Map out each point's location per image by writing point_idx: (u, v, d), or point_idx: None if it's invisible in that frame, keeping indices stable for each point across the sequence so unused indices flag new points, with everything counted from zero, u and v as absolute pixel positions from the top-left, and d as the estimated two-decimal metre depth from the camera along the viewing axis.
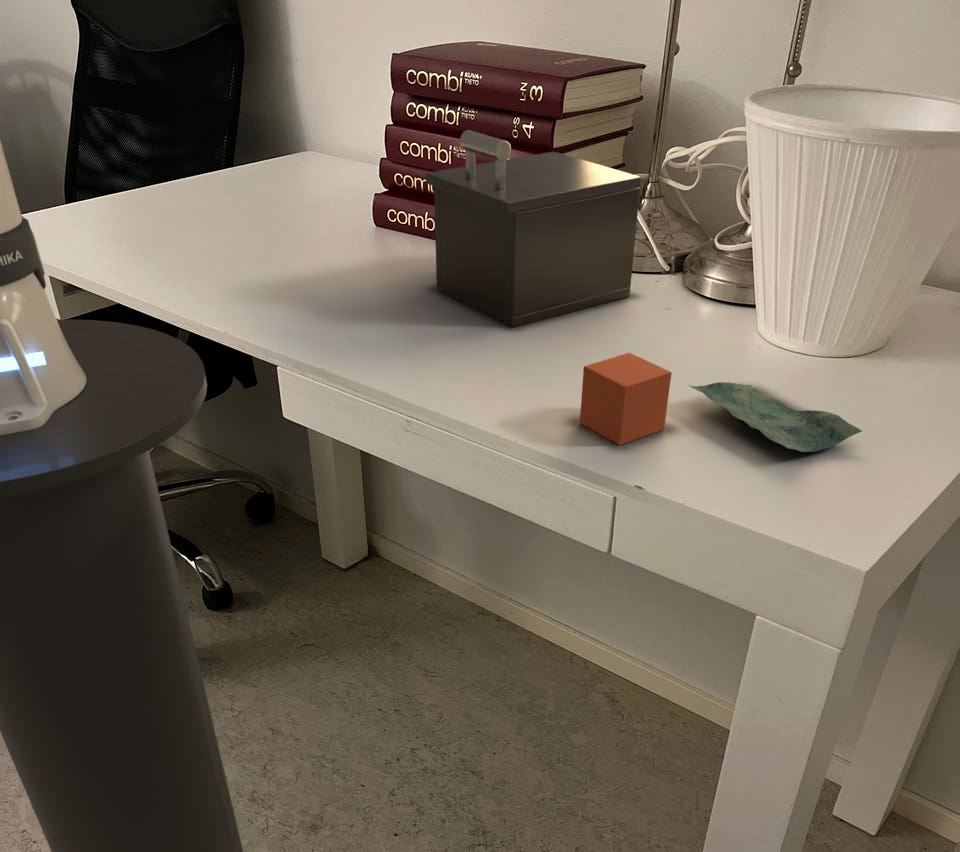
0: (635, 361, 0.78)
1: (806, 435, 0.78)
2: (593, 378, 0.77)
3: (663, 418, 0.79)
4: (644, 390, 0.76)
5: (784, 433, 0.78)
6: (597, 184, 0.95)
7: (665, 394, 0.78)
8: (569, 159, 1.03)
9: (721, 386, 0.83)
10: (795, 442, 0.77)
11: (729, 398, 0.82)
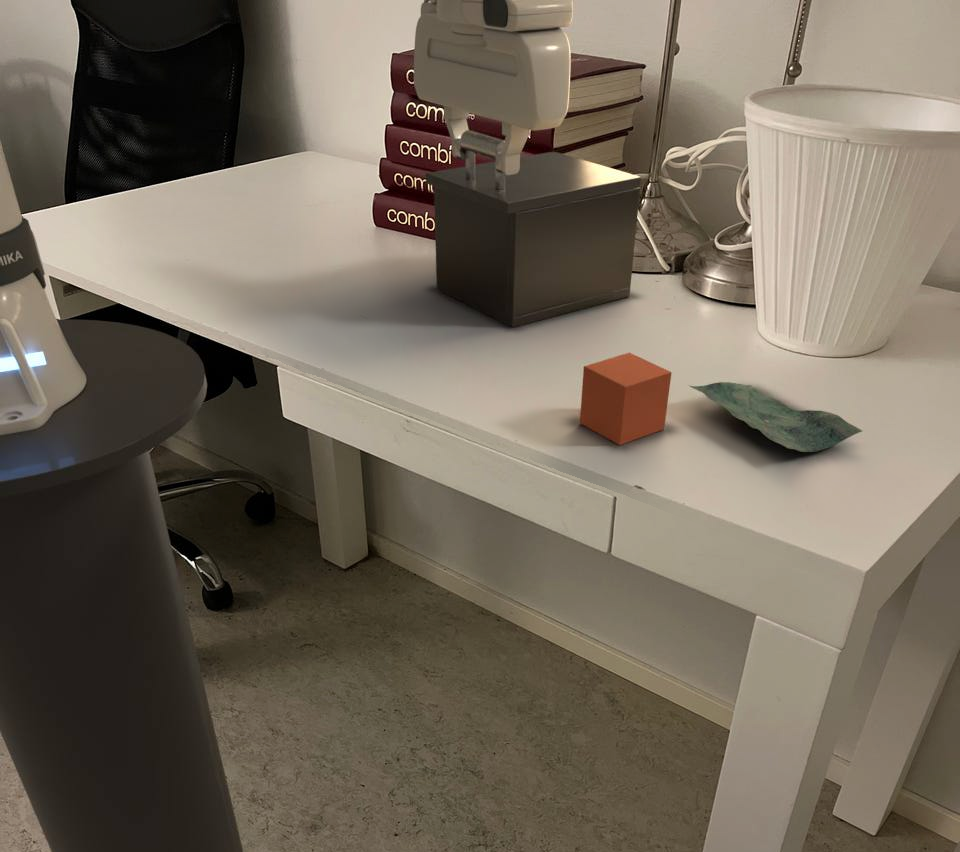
0: (635, 361, 0.78)
1: (806, 435, 0.78)
2: (593, 378, 0.77)
3: (663, 418, 0.79)
4: (644, 390, 0.76)
5: (784, 433, 0.78)
6: (597, 184, 0.95)
7: (665, 394, 0.78)
8: (569, 159, 1.03)
9: (721, 386, 0.83)
10: (795, 442, 0.77)
11: (729, 398, 0.82)
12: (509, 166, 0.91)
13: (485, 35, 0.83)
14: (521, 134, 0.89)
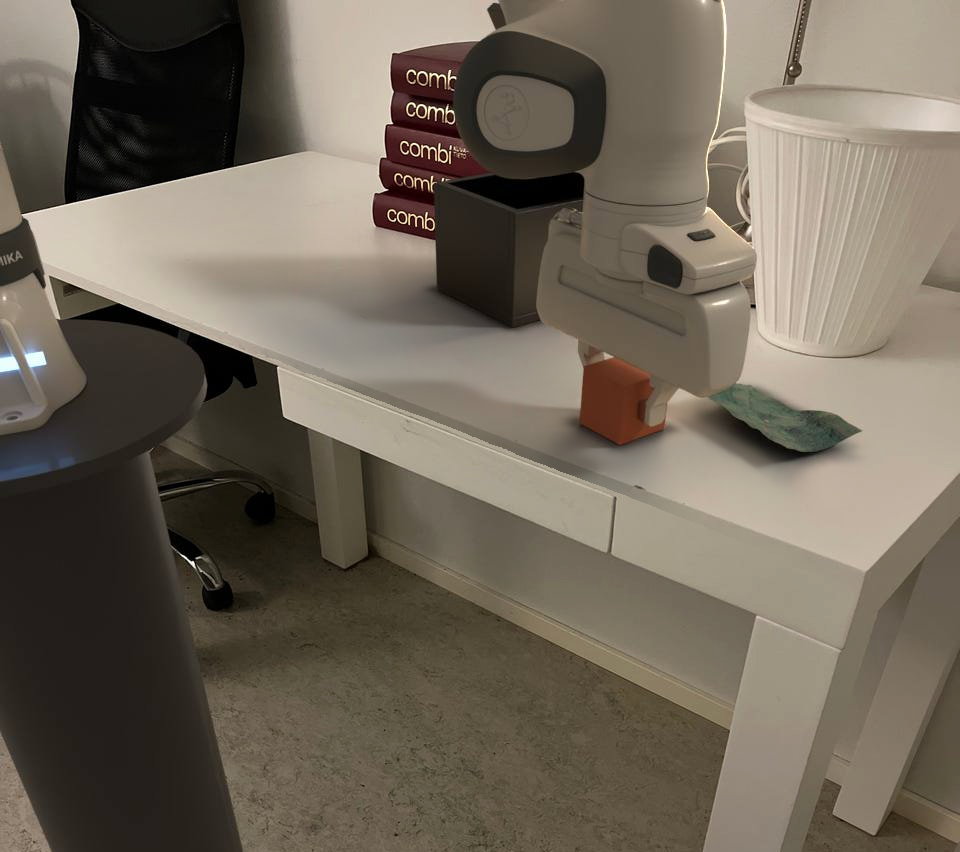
0: None
1: (806, 435, 0.78)
2: (593, 378, 0.77)
3: None
4: (644, 390, 0.76)
5: (784, 433, 0.78)
6: None
7: None
8: None
9: None
10: (795, 442, 0.77)
11: (729, 398, 0.82)
12: (654, 417, 0.76)
13: (646, 287, 0.68)
14: (673, 386, 0.74)
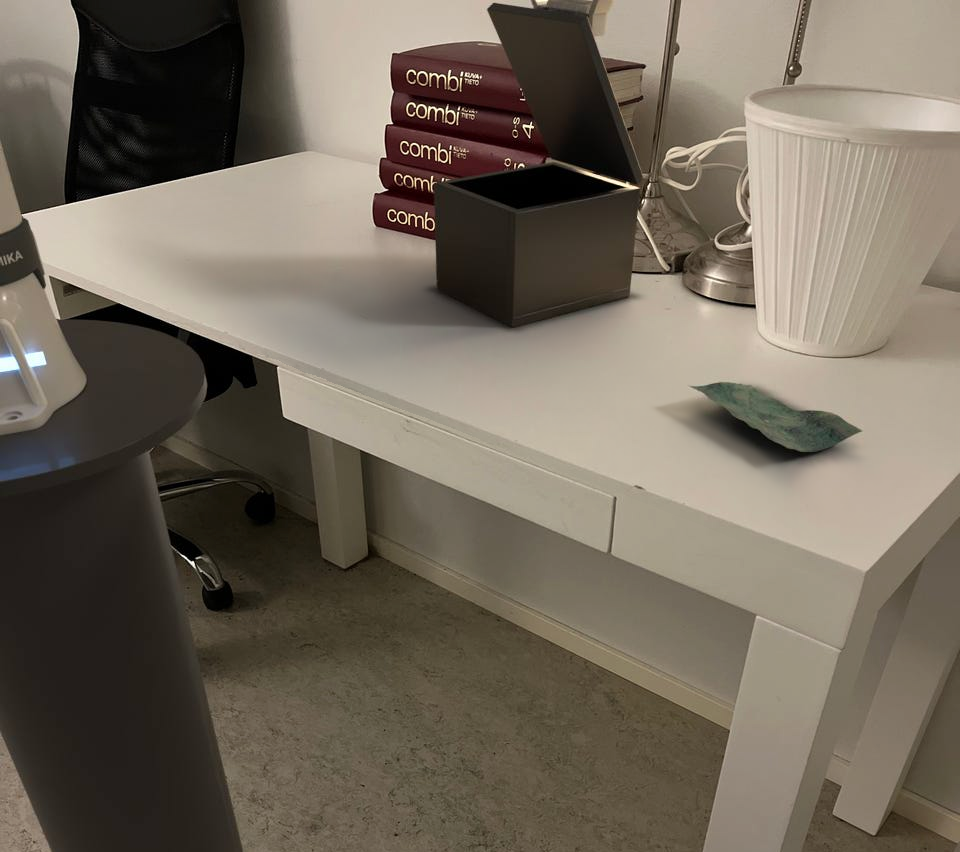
0: None
1: (806, 435, 0.78)
2: None
3: None
4: None
5: (784, 433, 0.78)
6: None
7: None
8: None
9: (721, 386, 0.83)
10: (795, 442, 0.77)
11: (729, 398, 0.82)
12: (596, 26, 0.89)
13: None
14: None
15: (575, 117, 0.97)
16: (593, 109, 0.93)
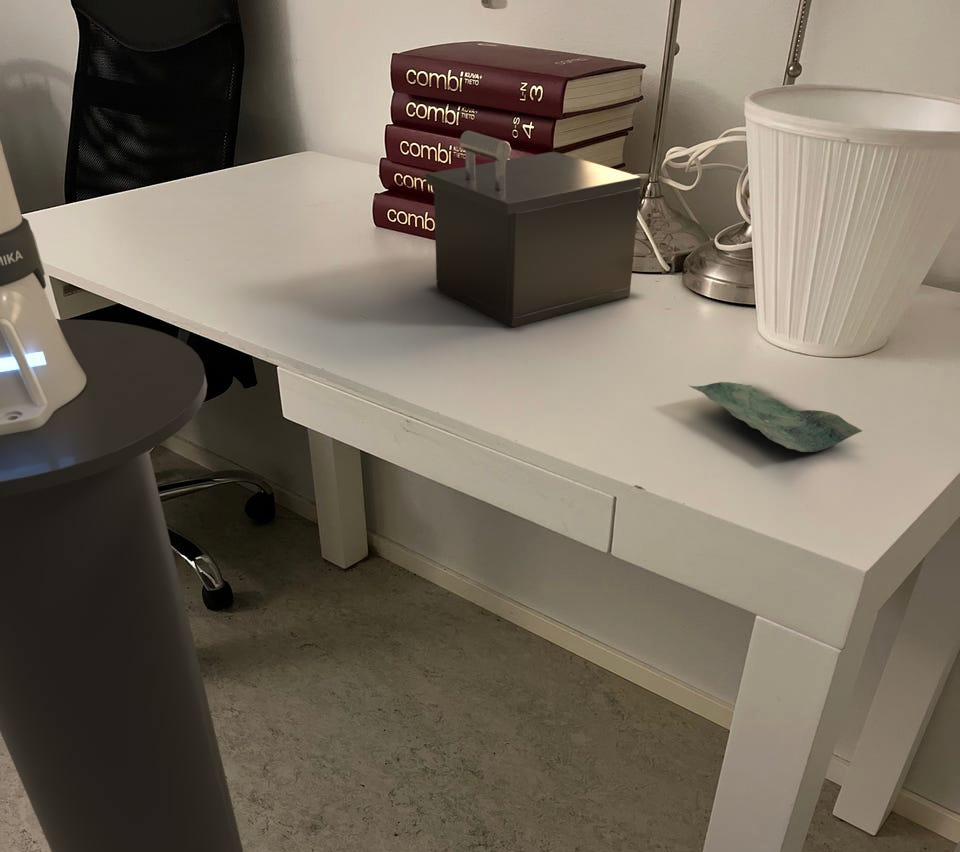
0: None
1: (806, 435, 0.78)
2: None
3: None
4: None
5: (784, 433, 0.78)
6: (597, 184, 0.95)
7: None
8: (569, 159, 1.03)
9: (721, 386, 0.83)
10: (795, 442, 0.77)
11: (729, 398, 0.82)
12: None
13: None
14: None
15: None
16: None
